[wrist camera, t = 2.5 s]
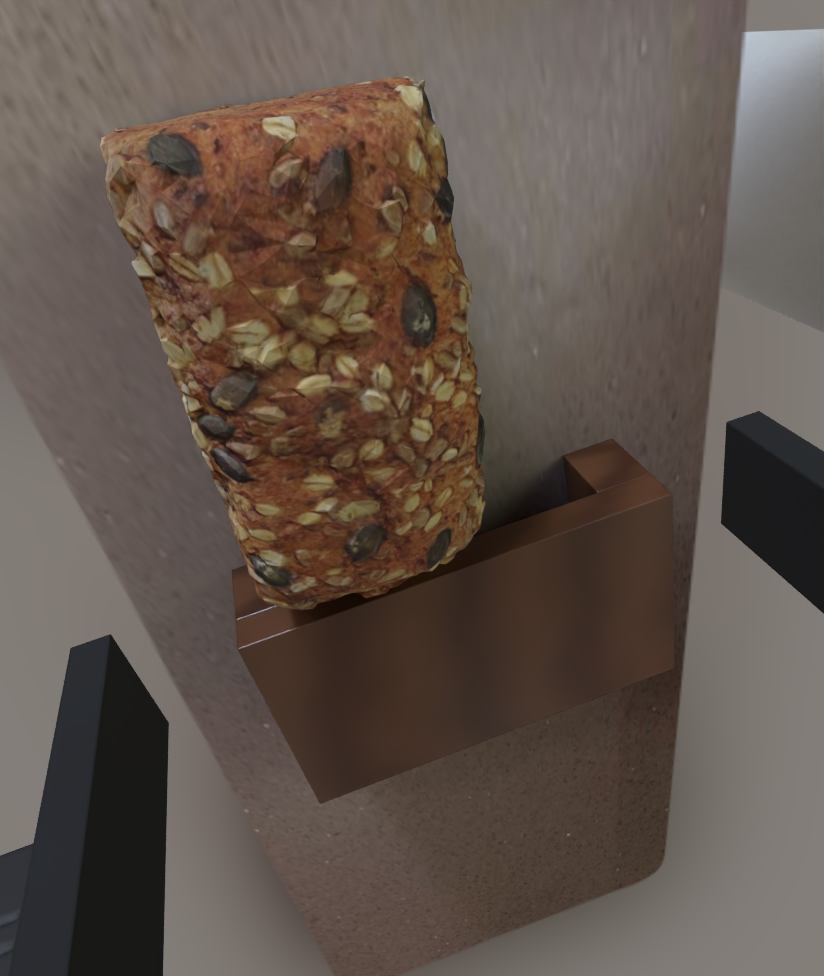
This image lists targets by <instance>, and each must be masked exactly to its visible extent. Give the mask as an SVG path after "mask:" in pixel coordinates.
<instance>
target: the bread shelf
mask: <svg viewBox="0 0 824 976" xmlns="http://www.w3.org/2000/svg"><path fill="white" fill-rule="evenodd" d="M563 457H564V465H565V474H566V482H567V491H568V499H569V503H568V504H565V505H562V506H559V507H557V508H554V509H551V510H548V511H545V512H542V513H540V514H537V515H534V516H531V517H528V518H525V519H523V520H520V521H517V522H514V523H511V524H509V525H506V526H503V527H500V528H497V529H494V530H492V531H489V532H486V533H483V534H480V535H477V536H475V537H473V538H472V539H471V541H470V542H469V543H468V545H467V546H466V547H465V548H464V549H462V550H459V551H458V552H456V554H455V557H454V558H453V559H452V560H451V561H449V562H448V563H447V564H438V566H437V567H436V568H435V569H434V570H433V571H427V572H421V573H419V574H418V575H416V576H411V577H410V578H409V579H407V580H406V581H404V582H403V583H402V584H400V585H399V586H396V587H393V588H390V589H389V590H388V592H387V593H384V594H380V595H377V596H373V597H369V598H365V597H363V596H362V595H360V594H358V593H350V594H346V595H344V596H342V597H340V598H337V599H334V600H331V601H327V602H322V603H317V605H316V606H315V608H313V609H307V610H298V609H291V608H284V607H279V606H276V605H272V604H268V603H266V602H264V601H263V600H262V599H260V598H259V596H258V594H257V592H256V587H255V583H254V581H253V580H252V578H251V576H250V575H249V571H248V566H244V567H242V568H239V569H236V570H233V571H232V581H233V594H234V607H235V620H236V633H237V646H238V651H239V653H240V655H241V657H242V658H243V660H244V662H245V664H246V666H247V668H248V670H249V672H250V673H251V675H252V677H253V679H254V681H255V683H256V685H257V687H258V688H259V690H260V692H261V694H262V696H263V698H264V700H265V702H266V703H267V705H268V707H269V709H270V711H271V713H272V715H273V717H274V718H275V720H276V722H277V724H278V726H279V728H280V730H281V732H282V733H283V735H284V737H285V739H286V741H287V743H288V745H289V747H290V748H291V750H292V752H293V754H294V756H295V758H296V760H297V762H298V763H299V765H300V767H301V769H302V771H303V773H304V775H305V777H306V778H307V780H308V782H309V784H310V786H311V788H312V790H313V792H314V793H315V795H316V797H317V799H318V801H319V803H320V804H321V803H324V802H327V801H329V800H332V799H335V798H337V797H340V796H342V795H345V794H348V793H350V792H353V791H355V790H358V789H361V788H363V787H366V786H368V785H371V784H374V783H376V782H379V781H381V780H384V779H387V778H389V777H392V776H394V775H397V774H400V773H402V772H405V771H407V770H410V769H413V768H415V767H418V766H420V765H423V764H426V763H428V762H431V761H433V760H436V759H439V758H441V757H444V756H446V755H449V754H452V753H454V752H457V751H459V750H462V749H465V748H467V747H470V746H473V745H475V744H478V743H480V742H483V741H486V740H488V739H491V738H493V737H496V736H499V735H501V734H504V733H506V732H509V731H512V730H514V729H517V728H519V727H522V726H525V725H527V724H530V723H532V722H535V721H538V720H540V719H543V718H545V717H548V716H551V715H553V714H556V713H558V712H561V711H564V710H566V709H569V708H571V707H574V706H577V705H579V704H582V703H584V702H587V701H590V700H592V699H595V698H597V697H600V696H603V695H605V694H608V693H610V692H613V691H616V690H618V689H621V688H624V687H626V686H629V685H631V684H634V683H637V682H639V681H642V680H644V679H647V678H650V677H652V676H655V675H657V674H660V673H663V672H665V671H668V670H670V669H673V668H675V656H674V579H673V502H672V493H671V492H670V491H669V490H668V489H667V488H665V487H664V486H663V485H662V484H661V483H660V482H659V481H658V480H657V479H656V478H655V477H653V476H652V475H651V474H650V473H649V472H648V471H647V470H646V469H645V468H644V467H643V466H642V465H641V464H639V463H638V462H637V461H636V460H635V459H634V458H633V457H632V456H631V455H630V454H629V453H627V452H626V451H625V450H624V449H623V448H622V447H621V446H620V445H619V444H618V443H617V442H615V441H614V440H613V439H610V440H607V441H604V442H601V443H599V444H596V445H593V446H590V447H587V448H584V449H581V450H578V451H576V452H573V453H570V454H567V455H564V456H563Z"/></svg>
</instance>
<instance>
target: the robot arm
mask: <svg viewBox="0 0 824 976" xmlns="http://www.w3.org/2000/svg"><path fill="white" fill-rule="evenodd" d="M725 443H726V444H725V460H724V479H723V498H722V516H721V523H722V525H724V526H725V527H726V528H727V529H728V530H729V531H730V532H732V533H733V534H734V535H735V536H736V537H737V538H738V539H740V540H741V541H742V542H743V543H744V544H745V545H746V546H748V547H749V548H750V549H751V550H752V551H753V552H754V553H755V554H757V555H758V556H759V557H760V558H761V559H762V560H763V561H765V562H766V563H767V564H768V565H769V566H770V567H771V568H772V569H774V570H775V571H776V572H777V573H778V574H779V575H781V576H782V577H783V578H784V579H785V580H786V581H787V582H788V583H790V584H791V585H792V586H793V587H794V588H795V589H796V590H798V591H799V592H800V593H801V594H802V595H803V596H804V597H805V598H807V599H808V600H809V601H810V602H811V603H812V604H813V605H815V606H816V607H817V608H818V609H819V610H820V611H821V612H823V613H824V452H823V451H822V450H820V449H818V448H817V447H815V446H813V445H812V444H811V443H809V442H807V441H806V440H804V439H803V438H801V437H799V436H798V435H796V434H795V433H793V432H791V431H790V430H788V429H786V428H785V427H783V426H782V425H780V424H779V423H777V422H776V421H774V420H772V419H771V418H769V417H768V416H766V415H764V414H763V413H761V412H760V411H758V412H755V413H752V414H749V415H746V416H743V417H740V418H737V419H735V420H732V421H729V422H727V424H726V442H725ZM168 727H169V723H168V721H167V720H166V718H165V717H164V715H163V714H162V712H161V710H160V709H159V707H158V706H157V704H156V703H155V701H154V700H153V698H152V697H151V695H150V694H149V692H148V691H147V689H146V688H145V686H144V684H143V683H142V681H141V680H140V678H139V677H138V675H137V674H136V672H135V671H134V669H133V668H132V666H131V665H130V663H129V662H128V660H127V658H126V657H125V655H124V654H123V652H122V651H121V649H120V648H119V646H118V645H117V643H116V642H115V640H114V639H113V637H112V636H111V635H107V636H104V637H101V638H98V639H96V640H93V641H90V642H87V643H84V644H81V645H78V646H75V647H72V648H71V649H70V654H69V660H68V665H67V670H66V675H65V681H64V686H63V691H62V697H61V702H60V707H59V712H58V718H57V723H56V728H55V733H54V739H53V744H52V749H51V755H50V760H49V765H48V770H47V776H46V781H45V786H44V791H43V797H42V802H41V807H40V812H39V817H38V823H37V828H36V833H35V838H34V843H33V844H31V845H28V846H25V847H23V848H20V849H17V850H15V851H12V852H9V853H7V854H4V855H1V856H0V976H163V944H164V902H165V859H166V816H167V815H166V814H167V771H168Z"/></svg>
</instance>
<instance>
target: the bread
mask: <svg viewBox="0 0 824 976" xmlns="http://www.w3.org/2000/svg"><path fill="white" fill-rule="evenodd" d="M424 85H425V79H424V80H422V81H420V82H415V80H414V78H413V76H412V77H406V76H404V77H391V78H385V79H378V80H372V81H366V82H359V83H353V84H348V85H344V86H340V87H336V88H329V89H321V90H316V91H310V92H305V93H301V94H298V95H294V96H290V97H286V98H277V99H272V100H267V101H262V102H258V103H249V104H244V105H230V104H229V105H224V106H220V107H216V108H212V109H209V110H205V111H201V112H197V113H193V114H189V115H185V116H181V117H177V118H173V119H169V120H165V121H160V122H157V123H153V124H146V125H139V126H132V127H126V128H115V131H114V132H113V133H111V134H109V135H107V136H105V137H103V138H102V140H101V144H100V148H101V151H102V154H103V158H104V161H105V163H106V165H107V171H106V177H105V184H106V191H107V198H108V201H109V203H110V205H111V208H112V210H113V213H114V215H115V218H116V220H117V222H118V225H119V227H120V229H121V231H122V232H123V234H124V236H125V238H126V240H127V242H128V243H129V244H130V246H131V247H132V249H133V250H134V252H135V253H136V254H137V256H138V257H137V258H136V259H135V260H134V261H133V262H132V265H133V267H134V269H135V271H136V273H137V275H138V277H139V279H140V281H141V283H142V285H143V288H144V291H145V293H146V296H147V298H148V302H149V306H150V310H151V315H152V319H153V322H154V325H155V328H156V331H157V334H158V337H159V339H160V342H161V345H162V347H163V350H164V352H165V353H166V354H167V355H168V356H169V357H168V366H169V369H170V371H171V373H172V376H173V378H174V381H175V384H176V386H177V387H178V388H179V390H180V393H181V396H182V398H183V402H184V406H185V409H186V413H187V415H188V417H189V420H190V422H191V427H192V434H193V436H194V438H195V440H196V442H197V444H198V446H199V447H200V448H201V449H202V456H203V457H204V459H205V461H206V463H207V464H208V466H209V468H210V470H211V472H212V476H213V479H214V483H215V485H216V487H217V488H218V490H219V492H220V494H221V496H222V498H223V500H224V502H225V505H226V507H227V510H228V514H229V520H230V523H231V527H232V530H233V533H234V536H235V539H236V541H237V544H238V547H239V549H240V552H241V554H242V557H243V559H244V561H245V562H246V563H247V566H248V571H249V575H250V576H251V578H252V580H253V581H254V583H255V587H256V592H257V594H258V596H259V598H260V599H262V600H263V601H264V602H266V603H268V604H272V605H276V606H279V607H284V608H291V609H298V610H307V609H313V608H315V606H316V605H317V603H322V602H327V601H331V600H334V599H337V598H340V597H342V596H344V595H346V594H350V593H358V594H360V595H362V596H363V597H365V598H369V597H373V596H377V595H380V594H384V593H387V592H388V590H389V589H390V588H393V587H396V586H399V585H400V584H402V583H403V582H404V581H406V580H407V579H409V578H410V577H411V576H416V575H418V574H419V573H421V572H427V571H433V570H434V569H435V568H436V567H437V566H438V564H447V563H448V562H449V561H451V560H452V559H453V558H454V557H455V554H456V552H458V551H459V550H462V549H464V548H465V547H466V546H467V545H468V543H469V542H470V541H471V539H472V538H473V535H474V534H475V533H476V532H478V531H479V529H480V527H481V519H482V514H483V510H484V507H485V501H484V500H482V497H483V492H484V487H485V479H484V475H483V471H482V467H481V460H482V454H483V445H484V437H485V429H484V420H483V418H482V416H481V414H480V410H481V405H480V397H481V388H480V387H479V386H477V385H476V384H475V383H476V380H477V371H478V369H477V367H476V365H475V363H474V361H473V360H474V355H475V351H474V347H473V346H472V345H471V344H470V343H469V341H468V328H469V325H468V323H467V311H468V309H469V307H470V303H471V298H472V287H471V281H470V280H469V279H468V278H467V276H466V275H465V273H464V268H463V264H462V260H461V258H460V256H459V255H458V253H457V251H456V245H455V242H456V240H455V238H454V235H453V229H452V224H451V217H452V210H453V202H454V196H453V193H452V190H451V187H450V184H449V182H448V179H447V176H448V161H447V155H446V148H445V142H444V139H443V137H442V135H441V133H440V131H439V129H438V127H437V126H436V124H435V122H434V121H433V119H432V114H431V109H430V104H429V101H428V99H427V96H426V93H425V91H424Z"/></svg>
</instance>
